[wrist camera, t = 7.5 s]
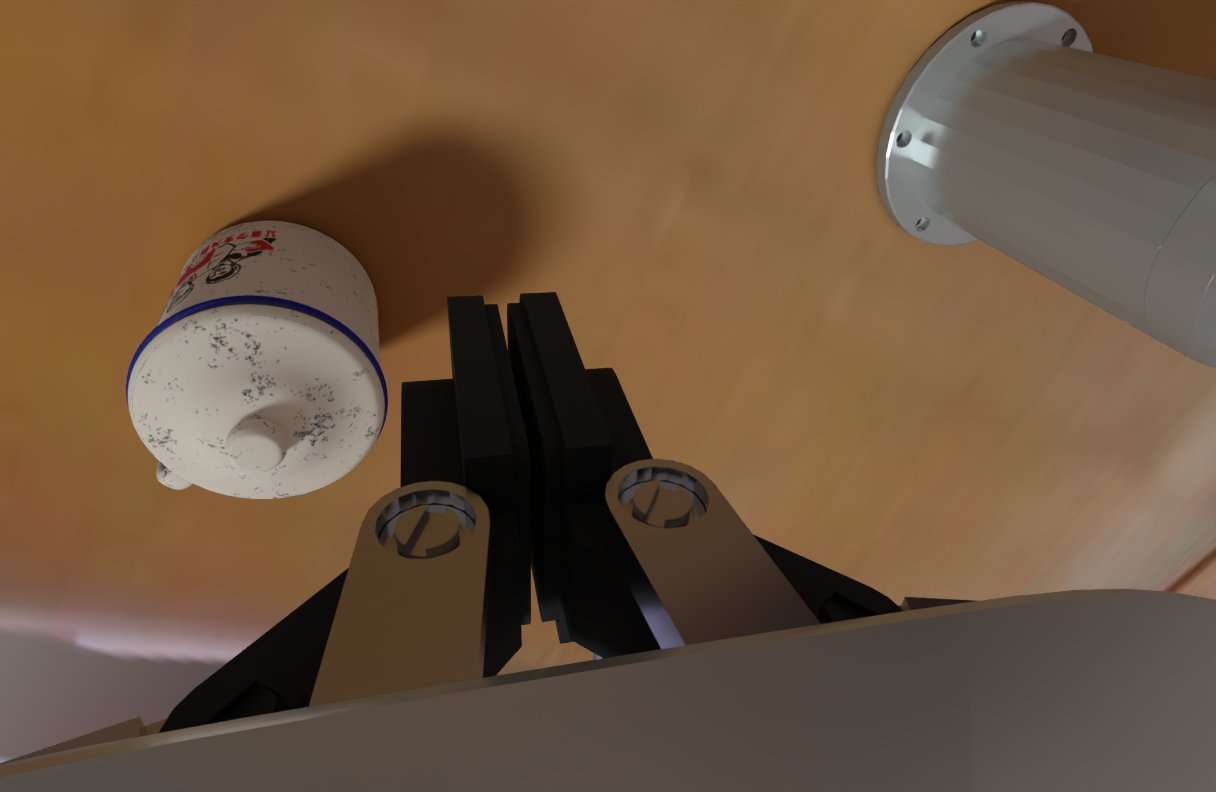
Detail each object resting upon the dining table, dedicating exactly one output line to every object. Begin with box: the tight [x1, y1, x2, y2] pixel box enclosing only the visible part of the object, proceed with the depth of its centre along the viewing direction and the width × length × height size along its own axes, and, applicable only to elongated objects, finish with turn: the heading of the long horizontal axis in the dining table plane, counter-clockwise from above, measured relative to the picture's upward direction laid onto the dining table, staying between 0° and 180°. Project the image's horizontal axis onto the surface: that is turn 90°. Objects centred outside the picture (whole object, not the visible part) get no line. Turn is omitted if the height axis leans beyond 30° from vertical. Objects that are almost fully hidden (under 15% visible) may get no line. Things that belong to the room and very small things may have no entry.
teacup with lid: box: [126, 221, 388, 499], centre depth 30 cm, size 12×9×12 cm
